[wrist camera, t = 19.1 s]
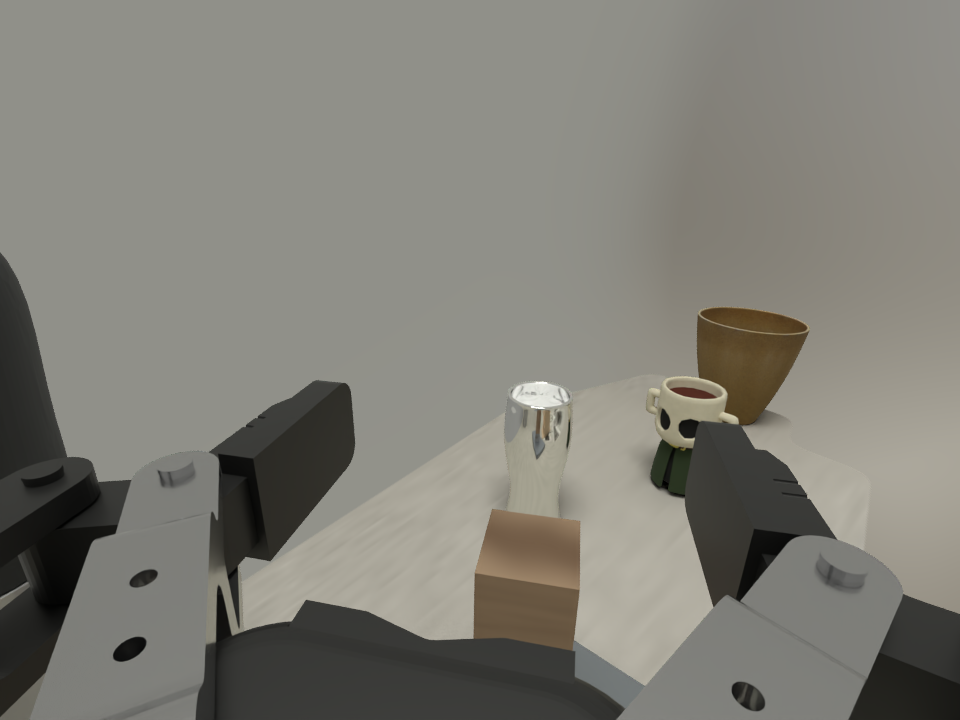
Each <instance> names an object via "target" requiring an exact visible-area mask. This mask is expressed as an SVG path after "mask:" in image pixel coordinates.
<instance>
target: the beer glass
mask: <svg viewBox="0 0 960 720" xmlns="http://www.w3.org/2000/svg"><path fill="white" fill-rule="evenodd" d="M572 425H573V394H572V393H571V391H570V390H568V389H567V388H565V387H563V386H561V385H558V384H555V383H551V382H545V381H527V382H522V383H518V384H515V385H513V386H512V387H511V388H510V389H509V390H508V398H507V406H506V413H505V424H504V444H505V454H506V460H507V467H508V473H509V480H510V494H509V498H508V502H507V506H506V510H505V511H510V512H517V513H524V514H532V515H539V516H546V517H553V518H560V511H559V503H558V492H559V486H560V482H561V478H562V475H563V472H564V468H565V465H566V462H567V458H568V454H569V450H570V445H571V438H572Z"/></svg>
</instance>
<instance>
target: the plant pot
mask: <svg viewBox="0 0 960 720" xmlns="http://www.w3.org/2000/svg"><path fill="white" fill-rule="evenodd" d="M809 330H810V327H809V326H808V325H807V324H806V323H804V322H802V321H800V320H797V319H795V318H792V317H789V316H785V315H781V314H777V313H773V312H768V311H762V310H756V309H748V308H739V307H712V308H706V309H702V310H700V311H699V312H698V322H697V358H698V372H699V378H701V379H705V380H709V381H711V382H714V383H716V384H719V385H720V386H721V387H723V388H724V389H725V390H726V392H727V394H728V395H727V401H726V406H725V411H724V412H725V413H728V414H730V415H733V416H735V417H737V418H738V421H739V425H747V424H751V423H753V422H755V420H756V419H757V418H758V417H759V415H760V414H761V413H762V412H763V411H764V409H765V408H766V406H767V405H768V404H769V403H770V401H771V400H772V398H773V397H774V395H775V394H776V392H777V391H778V389H779V388H780V386H781V385H782V383H783V382H784V380H785V378H786V377H787V375H788V373H789V371H790V369H791V368H792V366H793V364H794V362H795V360H796V358H797V356H798V354H799V352H800V350H801V348H802V346H803V344H804V342H805V339H806V337H807V335H808V333H809ZM722 422H725V421H723V420H722ZM726 423H728V422H726Z"/></svg>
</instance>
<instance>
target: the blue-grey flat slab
mask: <svg viewBox="0 0 960 720" xmlns="http://www.w3.org/2000/svg"><path fill="white" fill-rule="evenodd" d="M573 651H575V677H577V678H579V679H581V680H583V681H585V682H587V683H589V684H591V685H592V686H594V687H596V688H597V689H599V690H601V691H602V692H604V693H606V694H607V695H608V696H610V697H611V698H612V699H614V700H615V701H616V702H618V703H619V704H620V705H622V706H623V707H624V708H625V709H626V708H627V707H628V706H629V704H630V703H631V702H632V701H633V700H634V699H635V698H636V696H637V695H638V694H639V693H640V692H641V691H642V689H643V688H644V687H645V686H644V685H642V684H641V683H639V682H638V681H636V680H634V679H633V678H631V677H630V676H628V675H627V674H625V673H624V672H622V671H621V670H619V669H618V668H616V667H614V666H613V665H611V664H610V663H608V662H607V661H605V660H604V659H602V658H601V657H599V656H597V655H596V654H594V653H593V652H591V651H590V650H588V649H587V648H585V647H584V646H582V645H580V644H579V643H577V642H576V641H574V643H573Z"/></svg>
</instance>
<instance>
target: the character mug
mask: <svg viewBox="0 0 960 720" xmlns="http://www.w3.org/2000/svg"><path fill="white" fill-rule="evenodd" d="M727 395H728V394H727V392H726V390H725V389H724V388H723V387H721V386H720V385H719V384H716V383H714V382H711V381H709V380H705V379H701V378H696V377H687V376H677V377H670V378H667V379H665V380H664V381H663V382H662V385H661V389H660V390H658V389H655V388H650V389H649V391H648V395H647V402H646V410H647V411H648V412H649V413H652V414H655V415H656V418H655V425H656V431H657V432H658V434H659V435H660V437H661V438H662V440H661V442H660V444H659V447H658V450H657V453H656V456H655V458H654V462H653V465H652V469H651V473H650V474H651V478H652V480H653V481H654V482H655V483H656V484H657V485H658V486H660V487H661V485H662V481H663V480H664V481H666V482H667V483H669V486H668V491H670V492H673V493H678V494H682V495H684V494H685V488H686V481H687V476H688V471H689V466H690V461H691V456H692V450H693V445H694V440H695V435H696V430H697V427H698V424H699V423H700V421H711V422H720V423H722V420H723V421H725V422H728V423H730V424H739V421H738V418H737V417H735V416H733V415H730V414H728V413H725V412H724V411H725V406H726V401H727ZM655 397H658V398H659V400H658V406H657V407H655V406H654V402H655Z"/></svg>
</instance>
